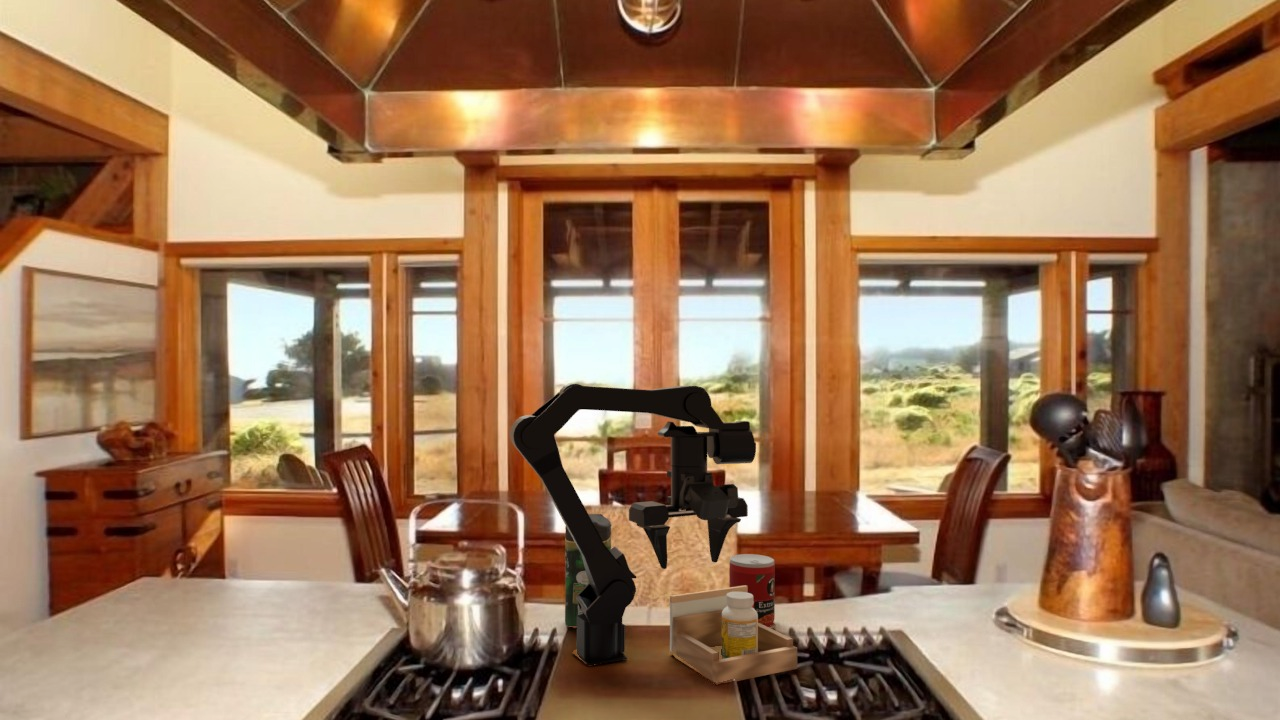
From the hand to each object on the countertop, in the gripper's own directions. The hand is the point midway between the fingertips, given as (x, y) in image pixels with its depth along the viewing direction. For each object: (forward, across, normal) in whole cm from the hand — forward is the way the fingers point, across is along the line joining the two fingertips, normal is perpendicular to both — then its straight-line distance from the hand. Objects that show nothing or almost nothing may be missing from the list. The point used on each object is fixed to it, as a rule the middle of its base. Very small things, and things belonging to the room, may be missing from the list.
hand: (689, 565), depth 119 cm
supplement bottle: (+13, +3, -9) cm, 16 cm away
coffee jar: (+13, -9, +19) cm, 25 cm away
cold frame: (+13, +3, -8) cm, 16 cm away
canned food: (+14, +17, +7) cm, 23 cm away
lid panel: (+13, +3, -1) cm, 13 cm away
